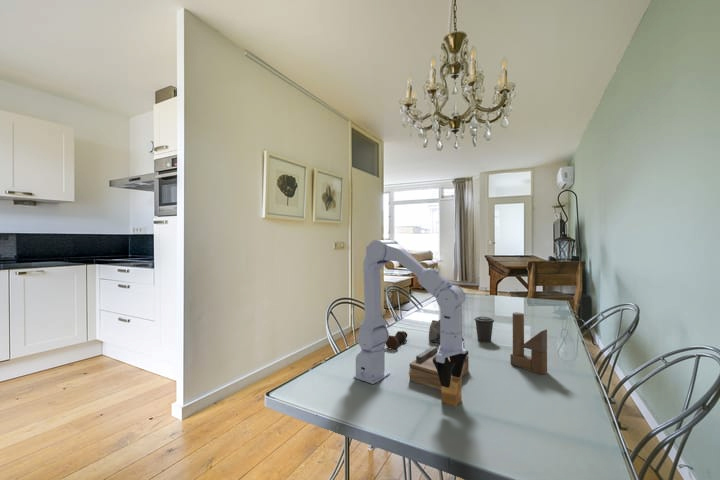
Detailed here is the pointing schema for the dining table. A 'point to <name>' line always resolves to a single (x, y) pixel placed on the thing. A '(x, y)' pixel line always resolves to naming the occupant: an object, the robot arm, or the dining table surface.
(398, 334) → the bolt
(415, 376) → the brown wooden open box
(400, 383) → the dining table surface
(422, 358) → the lid
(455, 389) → the brown block
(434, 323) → the mineral rock
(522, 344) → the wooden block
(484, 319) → the coffee cup
